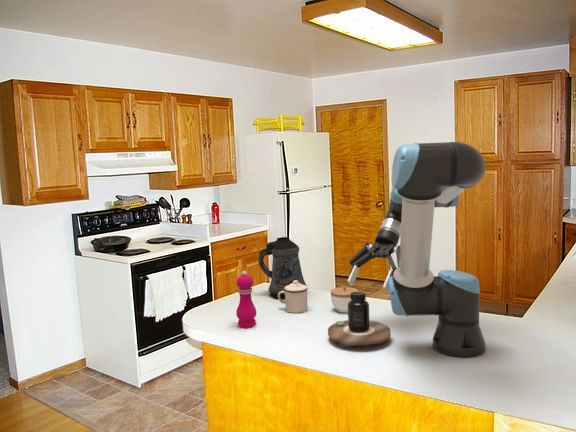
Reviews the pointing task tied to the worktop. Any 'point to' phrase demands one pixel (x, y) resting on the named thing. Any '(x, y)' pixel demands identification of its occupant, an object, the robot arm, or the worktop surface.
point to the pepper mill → (245, 302)
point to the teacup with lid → (295, 297)
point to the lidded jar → (342, 298)
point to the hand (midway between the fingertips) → (367, 286)
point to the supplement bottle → (358, 313)
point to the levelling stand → (358, 334)
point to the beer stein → (281, 265)
